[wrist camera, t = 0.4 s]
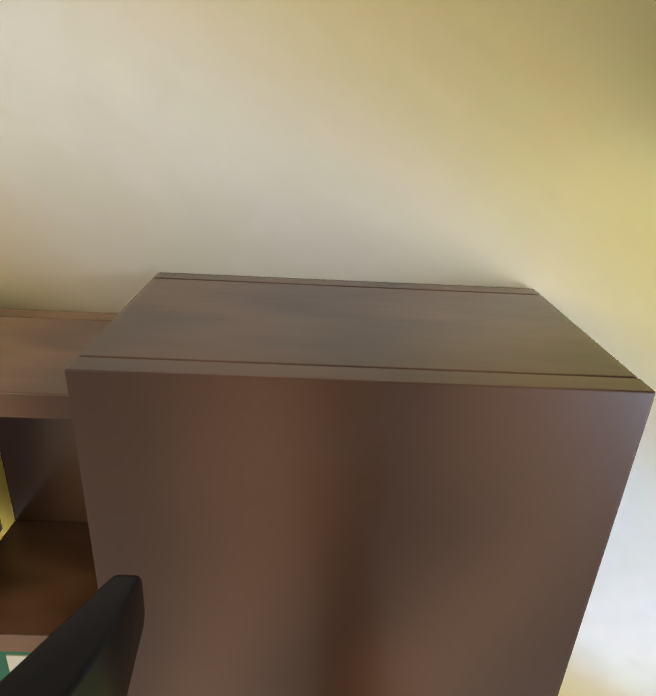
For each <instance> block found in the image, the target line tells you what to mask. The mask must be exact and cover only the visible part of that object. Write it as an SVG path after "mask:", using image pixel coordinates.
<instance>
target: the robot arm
mask: <svg viewBox="0 0 656 696" xmlns="http://www.w3.org/2000/svg"><path fill="white" fill-rule="evenodd" d="M144 619H145V608H144V597H143V586H142V580H141V578H140V577H139V576H137V575H115V576H113V577H112V578H111V579H109V580H108V581H107V582H106V583H105V584H104V585H103V586H102V587H101V588H100V589H99V590H98V591H97V592H95V593H94V594H93V595H92V596H91V597H90V598H89V599H88V600H87V601H86V602H85V603H84V604H83V605H82V606H80V607H79V608H78V609H77V610H76V611H75V612H74V613H73V614H72V615H71V616H70V617H69V618H68V619H67V620H65V621H64V622H63V623H62V624H61V625H60V626H59V627H58V628H57V629H56V630H55V631H54V632H53V633H52V634H50V635H49V636H48V637H47V638H46V639H45V640H44V641H43V642H42V643H41V644H40V645H39V646H38V647H37V648H35V649H34V650H33V651H32V652H31V653H30V654H29V655H28V656H27V657H26V658H25V659H24V660H23V661H21V662H20V663H19V664H18V665H17V666H16V667H15V668H14V669H13V670H12V671H11V672H10V673H9V674H8V675H6V676H5V677H4V678H3V679H2V680H1V681H0V696H127V693H128V689H129V685H130V681H131V677H132V672H133V668H134V664H135V660H136V656H137V652H138V647H139V643H140V639H141V635H142V631H143V626H144Z"/></svg>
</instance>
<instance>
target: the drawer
mask: <svg viewBox="0 0 656 696" xmlns="http://www.w3.org/2000/svg"><path fill="white" fill-rule="evenodd" d="M117 315H118V314H117V313H93V312H69V311H45V310H21V309H0V453H1V457H2V462H3V467H4V471H5V476H6V480H7V485H8V489H9V494H10V498H11V503H12V507H13V512H14V517H15V521H14V523H13V524H12V525H11V527H10V528H9V530H8V531H7V532H6V534H5V535H4V536H3V538H2V539H1V540H0V651H2V652H32V651H33V650H34V649H35V648H37V647H38V646H39V645H40V644H41V643H42V642H43V641H44V640H45V639H46V638H47V637H48V636H49V635H50V634H52V633H53V632H54V631H55V630H56V629H57V628H58V627H59V626H60V625H61V624H62V623H63V622H64V621H65V620H67V619H68V618H69V617H70V616H71V615H72V614H73V613H74V612H75V611H76V610H77V609H78V608H79V607H80V606H82V605H83V604H84V603H85V602H86V601H87V600H88V599H89V598H90V597H91V596H92V595H93V594H94V593H95V592H97V591H98V584H97V578H96V571H95V565H94V558H93V552H92V545H91V539H90V532H89V526H88V519H87V513H86V506H85V500H84V493H83V487H82V480H81V474H80V467H79V461H78V454H77V448H76V441H75V435H74V428H73V422H72V415H71V409H70V403H69V396H68V390H67V383H66V377H65V369H66V368H67V367H68V366H69V365H70V364H71V363H72V362H73V361H74V360H75V358H76V357H79V355H80V354H81V353H82V352H83V351H84V350H85V349H86V348H87V347H88V346H89V345H90V344H91V343H92V342H93V341H94V339H95V338H96V337H97V336H98V335H99V334H100V333H101V332H102V331H103V330H104V329H105V328H106V327H107V326H108V325H109V324H110V323H111V322H112V321H113V320H114V319H115V318H116V316H117ZM1 531H2V524H1V520H0V532H1Z"/></svg>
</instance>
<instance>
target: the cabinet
mask: <svg viewBox="0 0 656 696" xmlns="http://www.w3.org/2000/svg"><path fill="white" fill-rule="evenodd" d="M65 377H66V383H67V390H68V396H69V403H70V409H71V415H72V422H73V428H74V435H75V441H76V448H77V454H78V461H79V467H80V474H81V480H82V487H83V493H84V500H85V506H86V513H87V519H88V526H89V532H90V539H91V545H92V552H93V558H94V565H95V571H96V578H97V584H98V590H99V589H100V588H101V587H102V586H103V585H104V584H105V583H106V582H107V581H108V580H109V579H111V578H112V577H113V576H115V575H137V576H139V577H140V578H141V580H142V586H143V597H144V608H145V619H144V626H143V631H142V635H141V639H140V643H139V647H138V652H137V656H136V660H135V664H134V668H133V672H132V677H131V681H130V685H129V689H128V693H127V696H558V693H559V690H560V687H561V684H562V681H563V678H564V675H565V672H566V669H567V665H568V662H569V659H570V656H571V653H572V650H573V647H574V644H575V641H576V638H577V635H578V631H579V628H580V625H581V622H582V619H583V616H584V613H585V610H586V607H587V604H588V600H589V597H590V594H591V591H592V588H593V585H594V582H595V579H596V576H597V573H598V570H599V566H600V563H601V560H602V557H603V554H604V551H605V548H606V545H607V542H608V539H609V536H610V532H611V529H612V526H613V523H614V520H615V517H616V514H617V511H618V508H619V505H620V502H621V498H622V495H623V492H624V489H625V486H626V483H627V480H628V477H629V474H630V471H631V468H632V464H633V461H634V458H635V455H636V452H637V449H638V446H639V443H640V440H641V437H642V434H643V430H644V427H645V424H646V421H647V418H648V415H649V412H650V409H651V406H652V403H653V399H654V396H655V391H654V390H652V389H651V388H650V387H649V386H648V385H646V384H645V383H644V382H643V381H642V380H641V379H638V378H637V377H636V376H635V375H634V374H633V373H632V372H630V371H629V370H628V369H627V368H626V367H624V366H623V365H622V364H621V363H620V362H619V361H617V360H616V359H615V358H614V357H613V356H612V355H610V354H609V353H608V352H607V351H606V350H605V349H603V348H602V347H601V346H600V345H599V344H598V343H596V342H595V341H594V340H593V339H592V338H590V337H589V336H588V335H587V334H586V333H585V332H583V331H582V330H581V329H580V328H579V327H578V326H576V325H575V324H574V323H573V322H572V321H571V320H569V319H568V318H567V317H566V316H565V315H564V314H562V313H561V312H560V311H559V310H558V309H556V308H555V307H554V306H553V305H552V304H551V303H549V302H548V301H547V300H546V299H545V298H544V297H542V296H541V295H540V294H539V293H538V292H536V291H535V290H534V289H523V288H501V287H478V286H456V285H433V284H410V283H388V282H365V281H343V280H320V279H297V278H275V277H252V276H230V275H207V274H184V273H162V272H160V273H158V274H157V275H156V276H155V277H154V278H153V279H152V280H151V281H150V282H149V283H148V284H147V285H146V286H145V287H144V288H143V289H142V290H141V291H140V292H139V293H138V295H137V296H136V297H135V298H134V299H133V300H132V301H131V302H130V303H129V304H128V305H127V306H126V307H125V308H124V309H123V310H122V311H121V312H120V313H119V314H118V315H117V316H116V318H115V319H114V320H113V321H112V322H111V323H110V324H109V325H108V326H107V327H106V328H105V329H104V330H103V331H102V332H101V333H100V334H99V335H98V336H97V337H96V338H95V339H94V341H93V342H92V343H91V344H90V345H89V346H88V347H87V348H86V349H85V350H84V351H83V352H82V353H81V354H80V355H79V357H76V358H75V360H74V361H73V362H72V363H71V364H70V365H69V366H68V367H67V368H66V369H65Z"/></svg>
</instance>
